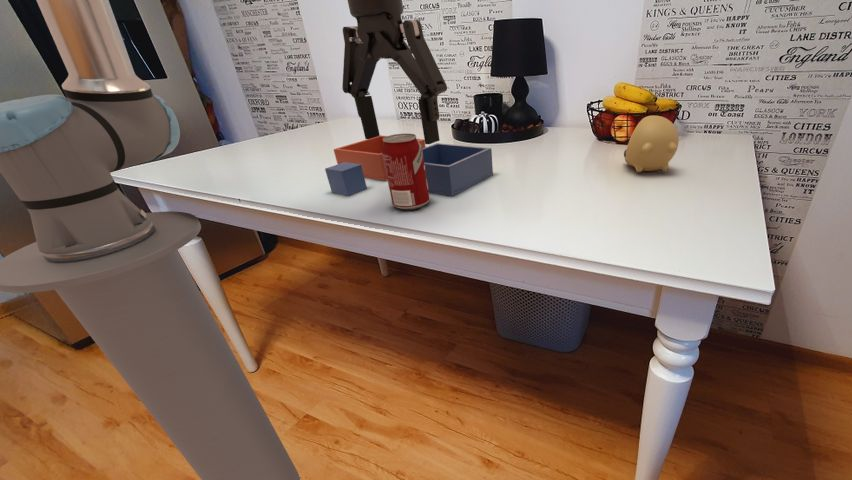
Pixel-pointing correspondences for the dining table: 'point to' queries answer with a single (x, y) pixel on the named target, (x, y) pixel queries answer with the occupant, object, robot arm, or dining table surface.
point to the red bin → (366, 156)
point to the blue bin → (455, 167)
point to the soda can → (405, 171)
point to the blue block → (346, 178)
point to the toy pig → (652, 144)
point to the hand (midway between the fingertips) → (401, 140)
